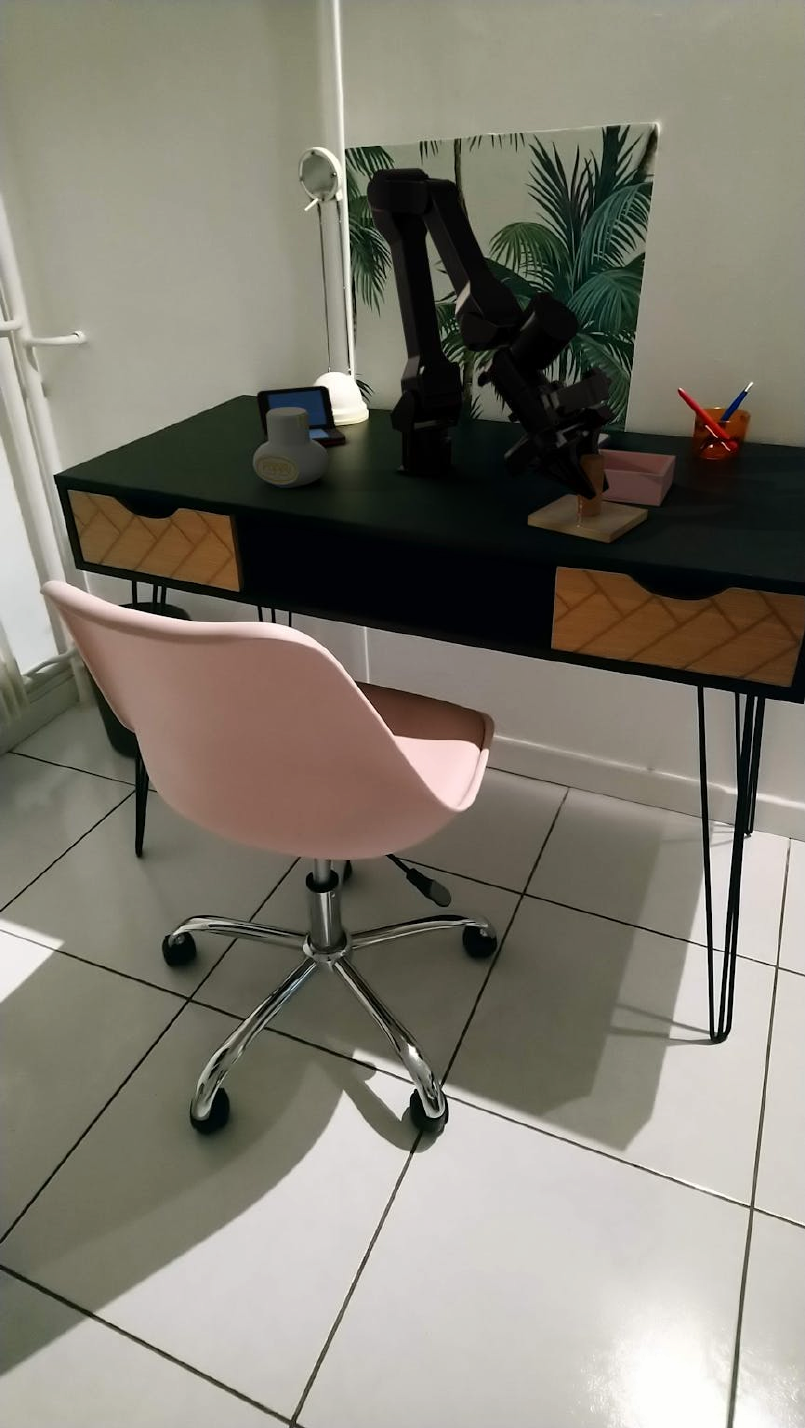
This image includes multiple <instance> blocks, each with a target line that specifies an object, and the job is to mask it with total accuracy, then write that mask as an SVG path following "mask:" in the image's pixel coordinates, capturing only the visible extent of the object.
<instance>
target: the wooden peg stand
mask: <svg viewBox="0 0 805 1428" xmlns="http://www.w3.org/2000/svg"><path fill="white" fill-rule="evenodd" d="M605 461H606V457H605V456H603V455H599V454H586V455H583V456H581V462H580V464H581V466H582V468H583V469H584V471H585V473H586V474H587V476H588V478H589V480H590V481H591V483H592V485H593V487H594V489H595V491H596V493H597V495H596V497H594V498H593V499H592V500H589V499H587V498H585V497H583V496H581V495H579V494H578V493H577V495H575V494H571V493H568V494H566V495H563V496H562V497H559V498H558V499H556V500H555V501H553V502H551V503H549V504H547V505H545V506H544V507H542V508H540V509H538V510H536V511H535V512H534V511H533V513H531V514H528V516H527V525H528V526H532V527H537V528H540V529H545V530H549V531H554V532H559V533H563V534H568V535H571V536H576V537H580V538H585V539H588V540H589V539H590V540H594V541H599V542H603V543H607V544H610V543H612V542H614V541H615V540H617V539H618V538H620V537H621V536H623V535H624V534H626V533H628V532H629V531H630V530H632V529H633V528H635V527H636V526H638V525H639V524H641V523H643V522H644V521H645V520H647V518H648V511H649V510H648V509H645V508H640V507H637V506H636V507H635V506H631V505H625V504H620V503H615V502H612V501H607V500H602V491H603V481H604V471H605Z"/></svg>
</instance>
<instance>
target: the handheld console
mask: <svg viewBox="0 0 805 1428" xmlns="http://www.w3.org/2000/svg"><path fill="white" fill-rule="evenodd" d="M256 402H257V406H258V413H259V417H260V418H259V419H260V422H261V428H262V430H263V433H262V434H263V439H264V441H266V442H268V430H267V419H266V414H267V413H268V411H270V410H272V409H276V408H283V407H298V408H303V409H305V410H306V411H307V412H308V420H309V432H310V439H312V440H314V441H316V442H318V443H319V444H320V445H322V446H324V445H326V446H327V445H333V444H334V445H335V444H342V443H344V442H345V441H346V435H345V434H344V433H343V432H342V431H340V430H339V429H338V428H337V426H336V422H335V417H334V412H333V405H332V401H331V395H330V390H329V389H328V387H327V386H325V385H313V386H301V387H291V388H281V389H280V388H278V389H267V390H266V389H265V390H260V391H258V392H257V393H256Z"/></svg>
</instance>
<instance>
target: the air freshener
mask: <svg viewBox="0 0 805 1428" xmlns="http://www.w3.org/2000/svg"><path fill="white" fill-rule="evenodd" d="M266 419H267V430H268V442H267V441H266V442H264V443H263V444H261V445H260V446H259V447H258V448H257V449H256V450H255V453H254V455H253V458H252V466H253V469H254V471H255V473H256V474H257V475H258V476H259V477H260V479H262V480H263V481H265V482H267V483H268V484H272V485H273V486H275V487H278V488H282V489H290V488H291V489H293V488H298V487H302V486H307V485H309V484H312V483H314V482H315V481H317V480H318V479H320V478H321V477H323V475H324V474H325V473H326V472H327V470H328V468H329V466H330V457H329V454H328V451H327V450H326V448H325V447H324V445H320V444H319V443H318V442H316V441H314V440H312V439H310V432H309V420H308V412H307V411H306V410H305V409H303V408H298V407H283V408H276V409H272V410H270V411H268V413H267V414H266Z"/></svg>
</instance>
